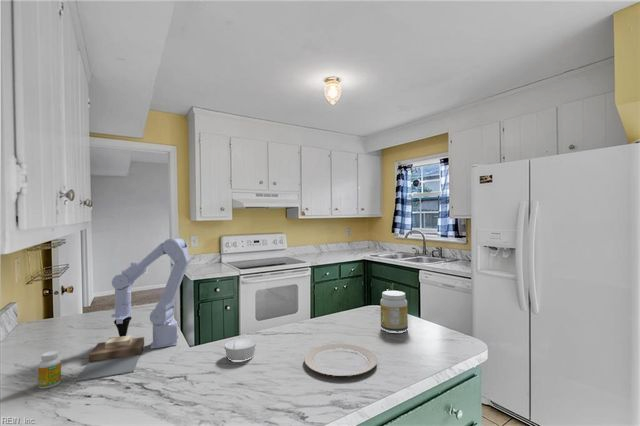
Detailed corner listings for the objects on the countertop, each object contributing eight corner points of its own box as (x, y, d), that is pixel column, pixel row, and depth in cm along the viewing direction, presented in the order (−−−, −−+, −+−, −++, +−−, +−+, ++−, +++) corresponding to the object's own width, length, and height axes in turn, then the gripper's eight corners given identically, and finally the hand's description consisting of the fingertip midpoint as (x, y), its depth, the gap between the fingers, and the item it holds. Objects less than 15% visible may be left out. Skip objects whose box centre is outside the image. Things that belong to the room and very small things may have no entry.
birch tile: (132, 340, 127) (132, 335, 127) (129, 345, 121) (129, 340, 122) (109, 343, 124) (109, 338, 124) (105, 348, 118) (105, 343, 118)
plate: (338, 343, 129) (337, 338, 129) (391, 363, 111) (391, 357, 111) (289, 363, 111) (289, 358, 111) (344, 391, 93) (343, 384, 93)
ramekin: (218, 358, 116) (218, 343, 117) (244, 348, 125) (244, 335, 125) (235, 367, 109) (235, 352, 109) (261, 357, 117) (261, 342, 117)
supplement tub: (380, 325, 151) (379, 289, 151) (406, 326, 149) (405, 290, 149) (381, 334, 138) (380, 295, 139) (409, 335, 137) (409, 296, 137)
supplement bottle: (47, 390, 95) (47, 357, 96) (33, 388, 96) (33, 356, 97) (65, 381, 101) (65, 350, 101) (51, 379, 102) (51, 349, 102)
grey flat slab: (139, 355, 119) (139, 354, 119) (133, 372, 106) (133, 371, 106) (88, 363, 113) (88, 362, 113) (75, 381, 100) (75, 380, 100)
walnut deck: (144, 344, 130) (144, 336, 130) (139, 355, 119) (139, 347, 119) (98, 350, 124) (98, 343, 124) (89, 363, 113) (89, 354, 113)
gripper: (115, 300, 135) (115, 332, 135) (107, 308, 121) (107, 344, 121) (134, 298, 138) (134, 329, 137) (128, 306, 124) (128, 341, 124)
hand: (122, 336), depth 129 cm, fingers closed
